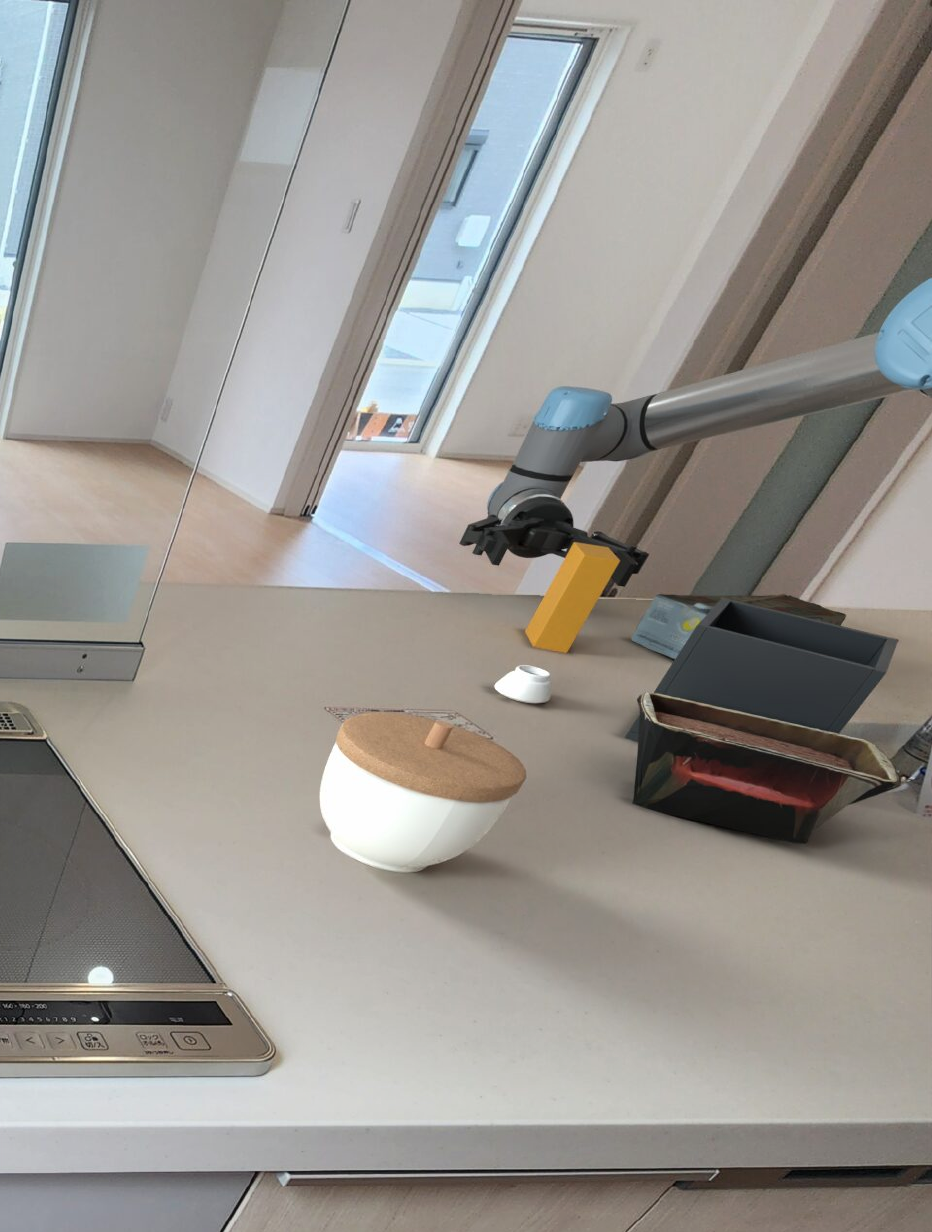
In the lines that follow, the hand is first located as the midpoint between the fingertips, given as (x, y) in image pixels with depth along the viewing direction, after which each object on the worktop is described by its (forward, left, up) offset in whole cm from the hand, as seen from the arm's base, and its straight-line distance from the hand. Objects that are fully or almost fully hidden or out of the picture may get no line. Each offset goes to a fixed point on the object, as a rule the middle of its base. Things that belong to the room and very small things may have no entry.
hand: (563, 564), depth 131 cm
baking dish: (-25, +44, -7) cm, 51 cm away
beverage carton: (-18, -8, -7) cm, 21 cm away
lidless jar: (-6, +31, -7) cm, 32 cm away
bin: (-23, +27, -7) cm, 36 cm away
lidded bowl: (-8, +79, -7) cm, 80 cm away
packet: (-3, +8, -7) cm, 11 cm away
